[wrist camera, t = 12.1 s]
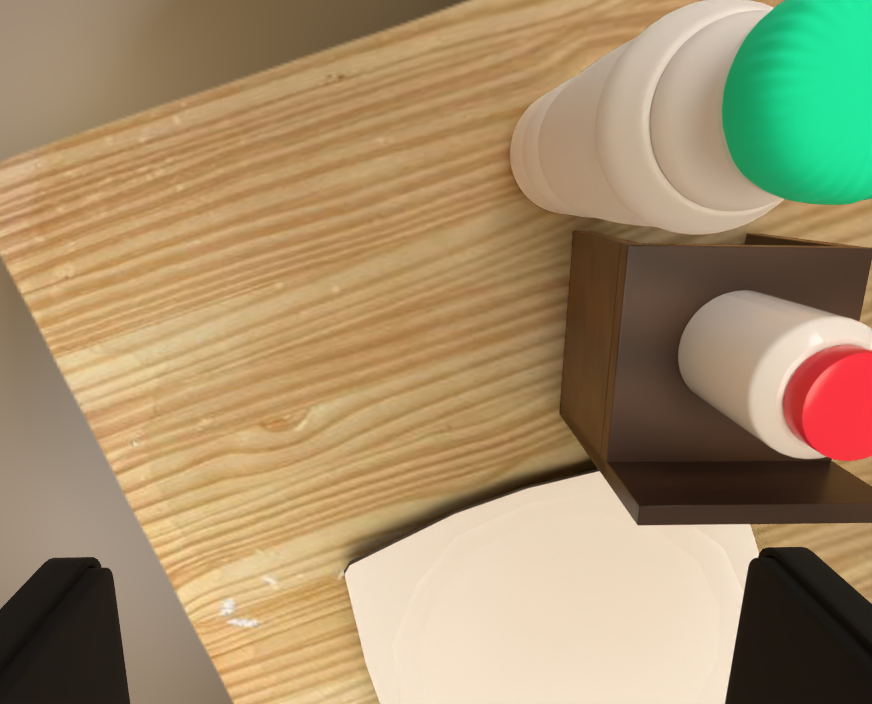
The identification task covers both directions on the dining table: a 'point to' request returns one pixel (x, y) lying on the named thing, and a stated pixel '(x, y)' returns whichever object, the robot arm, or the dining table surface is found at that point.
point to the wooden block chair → (670, 396)
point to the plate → (552, 603)
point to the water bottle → (709, 119)
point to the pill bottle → (783, 373)
